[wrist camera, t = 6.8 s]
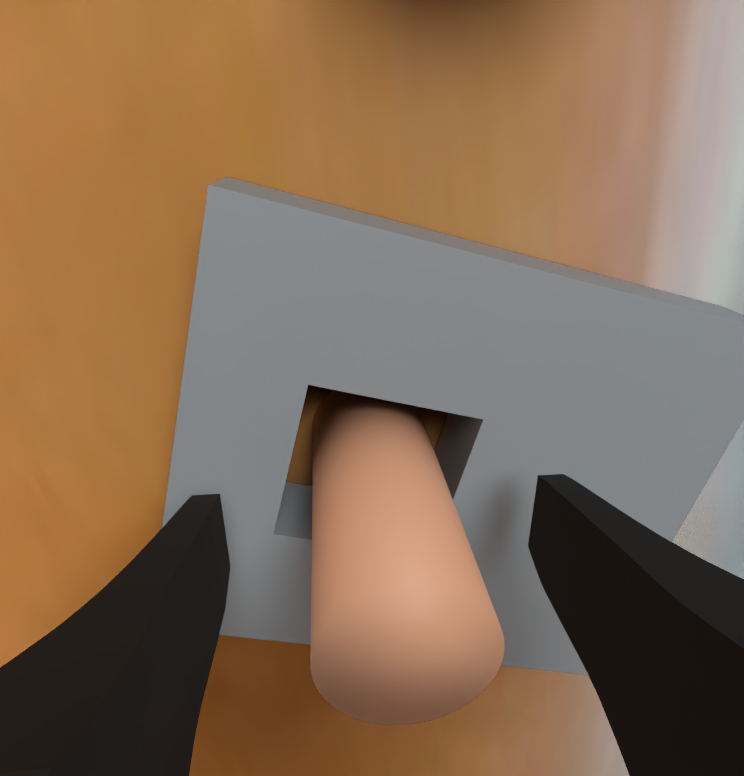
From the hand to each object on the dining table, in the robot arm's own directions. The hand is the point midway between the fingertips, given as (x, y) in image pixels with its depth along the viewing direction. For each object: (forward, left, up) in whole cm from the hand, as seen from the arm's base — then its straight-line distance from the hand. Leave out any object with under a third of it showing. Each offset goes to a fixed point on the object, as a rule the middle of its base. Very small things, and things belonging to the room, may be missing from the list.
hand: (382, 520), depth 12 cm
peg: (0, 0, -4) cm, 4 cm away
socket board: (-2, 0, -4) cm, 5 cm away
